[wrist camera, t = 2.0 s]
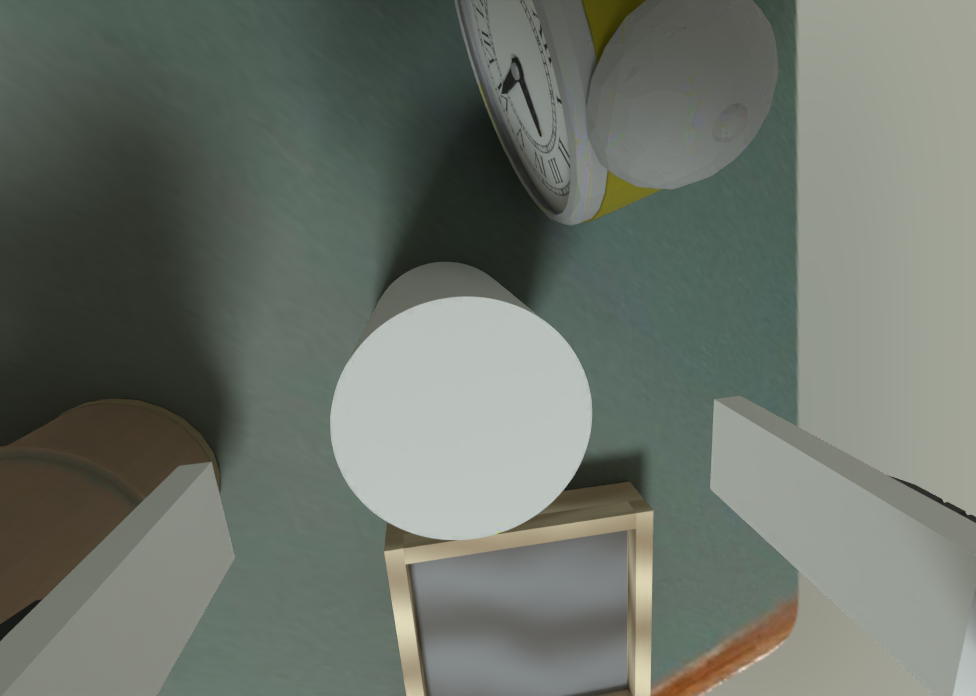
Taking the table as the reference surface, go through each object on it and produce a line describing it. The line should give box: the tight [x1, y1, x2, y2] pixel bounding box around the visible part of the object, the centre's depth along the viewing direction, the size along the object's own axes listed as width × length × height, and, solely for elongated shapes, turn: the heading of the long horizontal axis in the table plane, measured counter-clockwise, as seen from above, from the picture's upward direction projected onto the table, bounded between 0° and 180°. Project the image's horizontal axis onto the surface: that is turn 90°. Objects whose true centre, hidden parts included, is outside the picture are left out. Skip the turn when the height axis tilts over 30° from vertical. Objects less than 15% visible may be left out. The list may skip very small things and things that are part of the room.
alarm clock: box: [454, 0, 778, 226], centre depth 17 cm, size 12×7×15 cm, turn 23°
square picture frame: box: [384, 481, 653, 696], centre depth 30 cm, size 15×15×3 cm
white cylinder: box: [330, 262, 592, 540], centre depth 21 cm, size 8×8×12 cm
